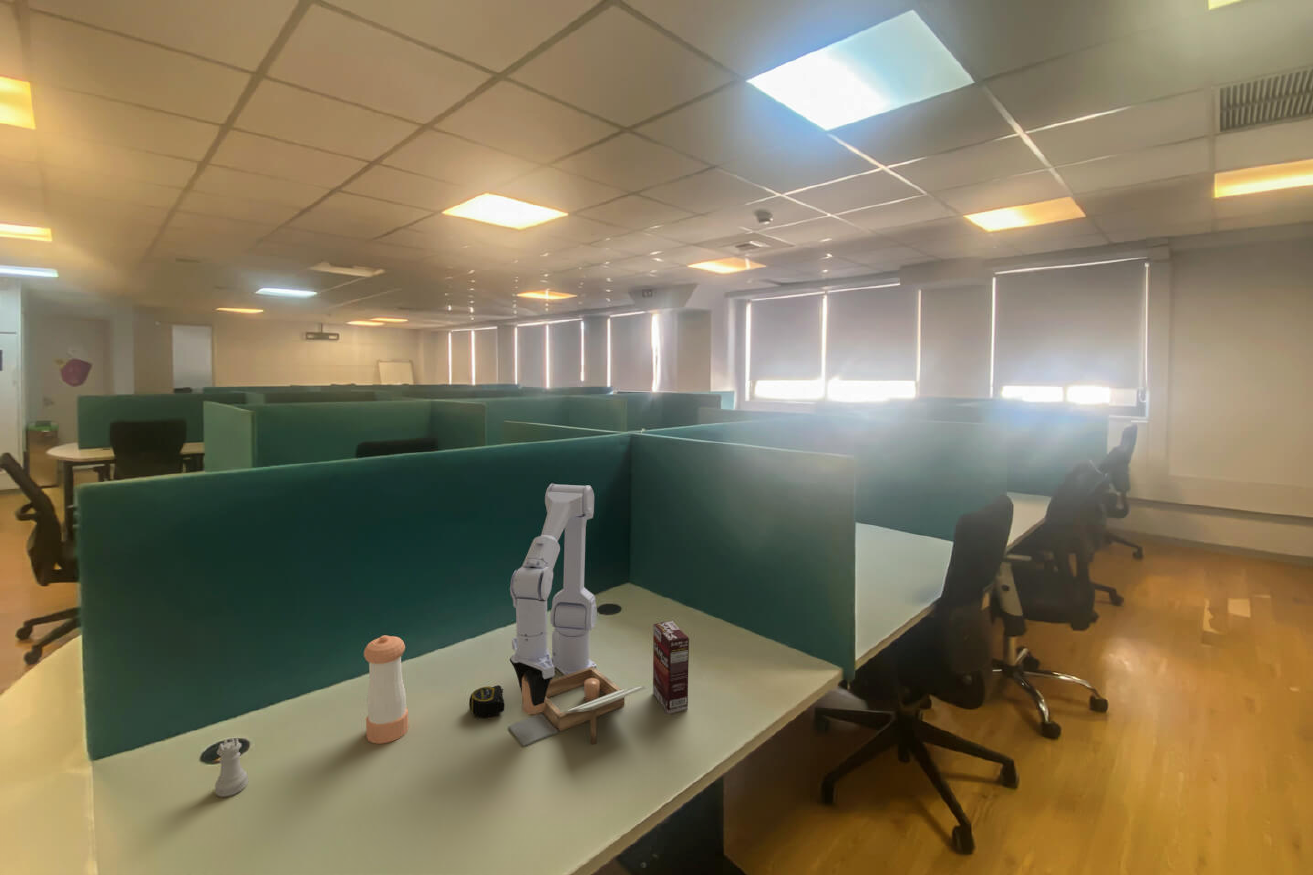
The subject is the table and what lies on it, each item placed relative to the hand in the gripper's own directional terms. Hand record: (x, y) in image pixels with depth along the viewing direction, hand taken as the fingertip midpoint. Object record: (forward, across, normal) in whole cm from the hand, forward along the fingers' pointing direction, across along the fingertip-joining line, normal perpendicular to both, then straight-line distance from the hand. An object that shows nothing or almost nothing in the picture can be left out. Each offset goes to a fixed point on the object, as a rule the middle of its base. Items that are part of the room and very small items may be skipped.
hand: (532, 697), depth 109 cm
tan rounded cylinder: (+7, -3, +15) cm, 17 cm away
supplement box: (+7, +8, +28) cm, 29 cm away
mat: (+7, 0, 0) cm, 7 cm away
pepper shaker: (+7, -16, -22) cm, 28 cm away
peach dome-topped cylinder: (+2, 0, 0) cm, 2 cm away
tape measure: (+7, -12, -4) cm, 14 cm away
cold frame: (+7, +2, +11) cm, 13 cm away
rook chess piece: (+7, -15, -46) cm, 49 cm away
